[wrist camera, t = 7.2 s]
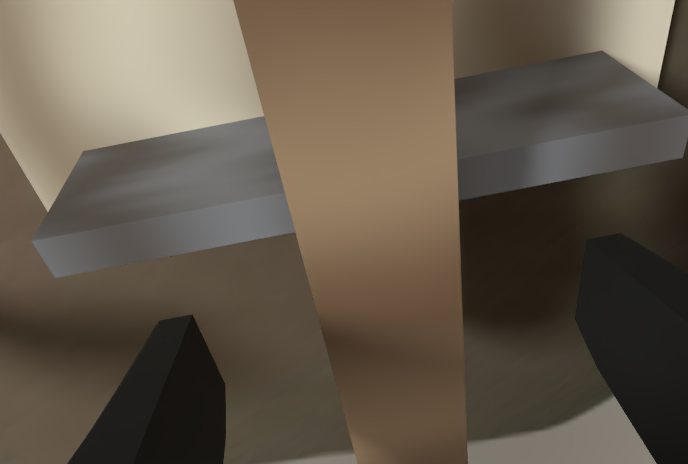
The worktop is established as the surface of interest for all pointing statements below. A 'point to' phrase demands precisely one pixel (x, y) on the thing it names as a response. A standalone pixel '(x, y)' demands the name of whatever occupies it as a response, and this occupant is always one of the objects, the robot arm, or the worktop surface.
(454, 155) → the walnut bar
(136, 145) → the board
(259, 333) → the worktop surface
